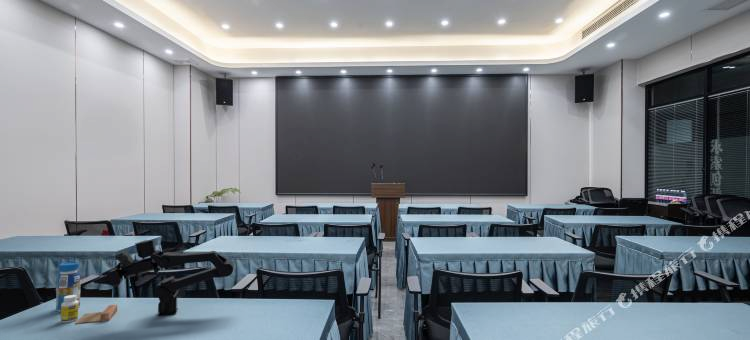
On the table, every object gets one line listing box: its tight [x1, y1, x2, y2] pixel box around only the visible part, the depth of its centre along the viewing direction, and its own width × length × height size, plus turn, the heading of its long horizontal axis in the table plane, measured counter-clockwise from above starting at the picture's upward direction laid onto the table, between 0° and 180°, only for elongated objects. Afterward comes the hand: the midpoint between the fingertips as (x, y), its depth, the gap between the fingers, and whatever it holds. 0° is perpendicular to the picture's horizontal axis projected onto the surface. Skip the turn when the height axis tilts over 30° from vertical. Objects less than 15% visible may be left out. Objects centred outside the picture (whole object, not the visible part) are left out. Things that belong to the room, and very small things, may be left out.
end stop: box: [74, 304, 118, 325], centre depth 150 cm, size 12×10×3 cm
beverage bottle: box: [55, 261, 82, 313], centre depth 159 cm, size 8×8×20 cm
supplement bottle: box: [60, 295, 79, 324], centre depth 147 cm, size 5×5×10 cm
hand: (97, 278), depth 148 cm, fingers open, 9 cm apart
